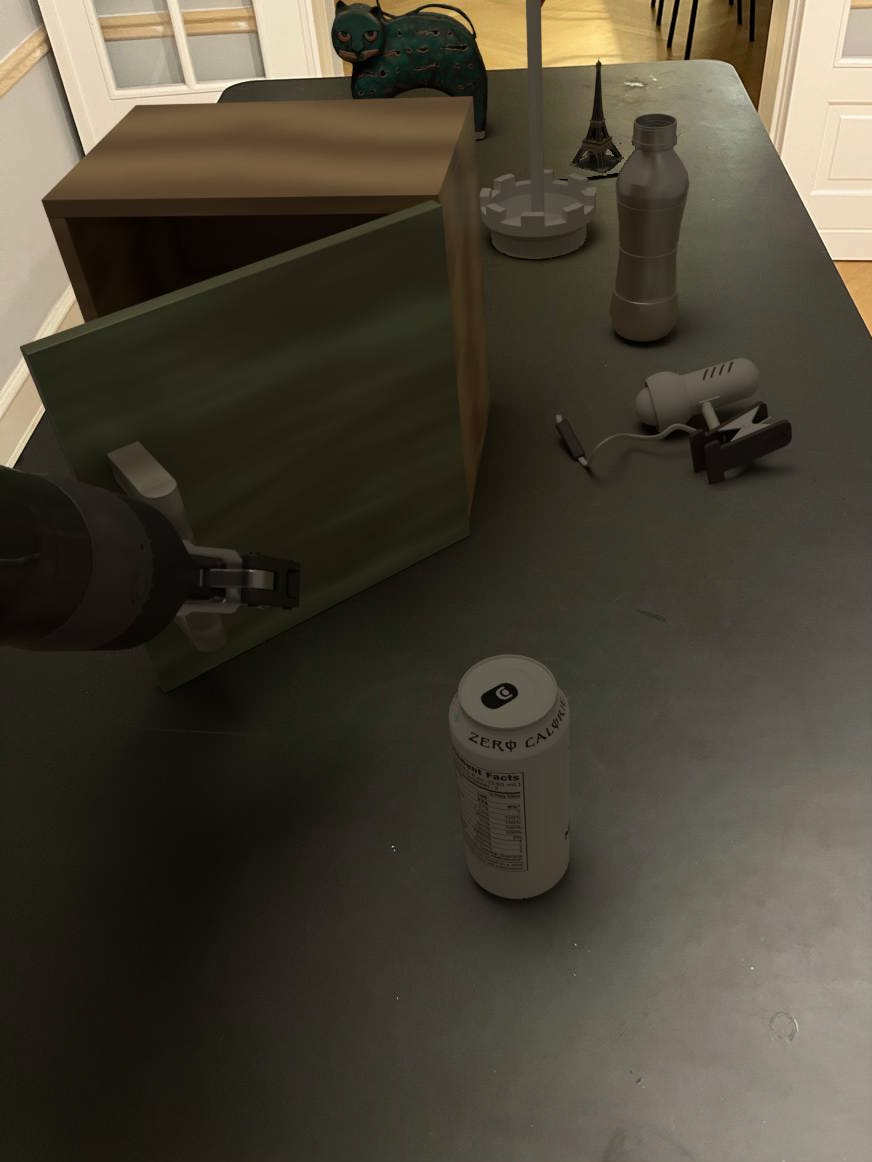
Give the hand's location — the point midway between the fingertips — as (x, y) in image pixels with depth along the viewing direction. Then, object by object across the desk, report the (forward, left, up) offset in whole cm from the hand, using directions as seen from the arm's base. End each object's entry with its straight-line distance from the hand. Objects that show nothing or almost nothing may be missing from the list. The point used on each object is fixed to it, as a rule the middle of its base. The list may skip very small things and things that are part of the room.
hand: (208, 585), depth 62 cm
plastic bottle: (+26, +52, -12) cm, 59 cm away
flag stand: (+14, +74, -12) cm, 76 cm away
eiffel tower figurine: (+20, +96, -12) cm, 99 cm away
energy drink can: (+19, -10, -12) cm, 25 cm away
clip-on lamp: (+28, +32, -12) cm, 44 cm away
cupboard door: (+5, +9, -12) cm, 15 cm away
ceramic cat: (-5, +106, -12) cm, 107 cm away
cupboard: (-1, +30, -12) cm, 32 cm away
